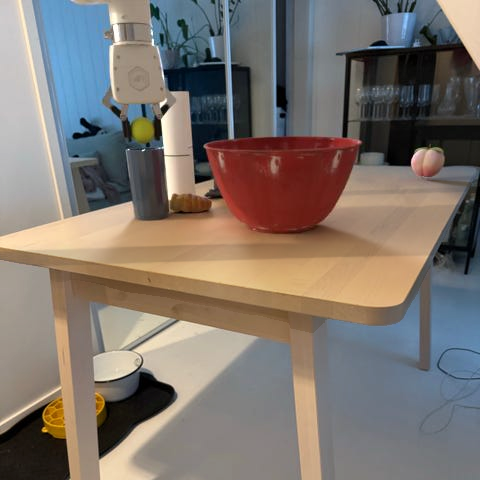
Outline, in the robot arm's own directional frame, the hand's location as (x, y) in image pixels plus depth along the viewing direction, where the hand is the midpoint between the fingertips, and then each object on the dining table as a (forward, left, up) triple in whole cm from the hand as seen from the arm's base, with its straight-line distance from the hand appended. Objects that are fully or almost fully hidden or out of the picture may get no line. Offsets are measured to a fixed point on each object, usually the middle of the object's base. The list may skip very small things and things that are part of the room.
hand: (143, 140), depth 94 cm
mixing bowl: (+22, -20, -16) cm, 34 cm away
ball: (0, 0, -1) cm, 1 cm away
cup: (0, 0, -16) cm, 16 cm away
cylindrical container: (+11, +19, -16) cm, 27 cm away
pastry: (+9, +3, -16) cm, 19 cm away
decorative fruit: (+85, +15, -16) cm, 88 cm away
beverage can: (+21, +17, -16) cm, 32 cm away
